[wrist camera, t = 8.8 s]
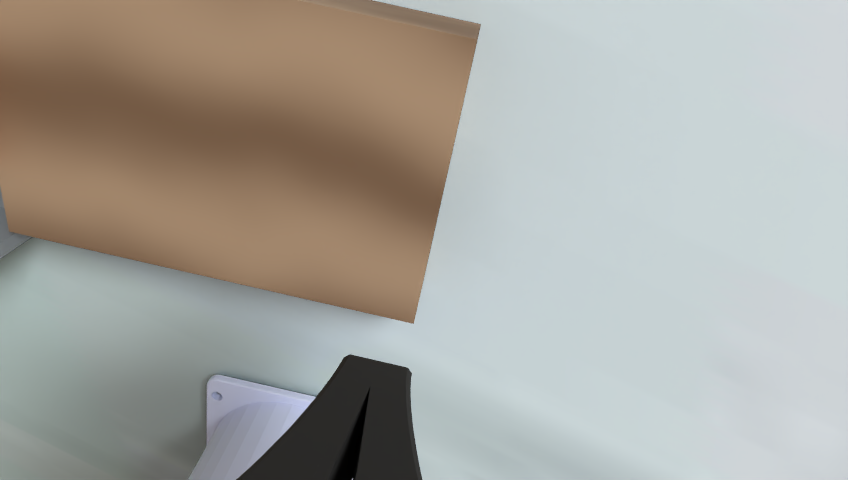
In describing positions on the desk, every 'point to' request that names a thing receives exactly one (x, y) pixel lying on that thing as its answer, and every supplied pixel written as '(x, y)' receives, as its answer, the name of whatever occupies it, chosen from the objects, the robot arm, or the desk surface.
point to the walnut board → (237, 137)
